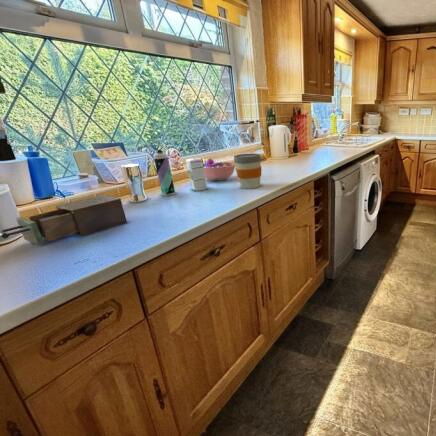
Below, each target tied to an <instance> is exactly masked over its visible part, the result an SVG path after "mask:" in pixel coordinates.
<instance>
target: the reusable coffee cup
mask: <svg viewBox="0 0 436 436" xmlns="http://www.w3.org/2000/svg"><path fill="white" fill-rule="evenodd" d="M261 161H262V156H261V154H260V153H241V154H235V155H234V156H233V164H235V172H236V176H237V178H238V179H239V183H240V188H241V189H244V190H251V189H257V188H260V187H261V177H262V165H261V163H262V162H261Z"/></svg>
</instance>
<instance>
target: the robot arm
mask: <svg viewBox="0 0 436 436" xmlns="http://www.w3.org/2000/svg"><path fill="white" fill-rule="evenodd" d="M16 160H17V158H16V154H15V152H14V150H13V147H12V144H11V142H10V140H9V139H8V131H7V127H6V124H5V122H4V119H3V117H2V115H1V114H0V162H8V161H16Z"/></svg>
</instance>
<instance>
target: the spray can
mask: <svg viewBox="0 0 436 436" xmlns="http://www.w3.org/2000/svg"><path fill="white" fill-rule="evenodd" d="M153 161H154V165H155V169H156V174H157V178H158V182H159V187H160V192H161V195H162V196H164V197H165V196H166V197H167V196H168V197H169V196H173V195H176V190H175V184H174V180H173V179H174V178H173V175H172V170H171V166H170V165H171V164H170V161H169V157H168V154H166V153H164V152H163V150H162V149H157V150H156V152H155V154H154V155H153Z"/></svg>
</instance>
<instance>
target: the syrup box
mask: <svg viewBox="0 0 436 436" xmlns="http://www.w3.org/2000/svg"><path fill="white" fill-rule="evenodd" d="M185 162H186V168H187V173H188V177H189V182H190V187H191V190H193V191H195V192H199V191H204V190H208V183H207V179H206V178H205V173H204V168H203V164H204V163H203V159H202V158H198V157H191V158H187V159H185Z"/></svg>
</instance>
